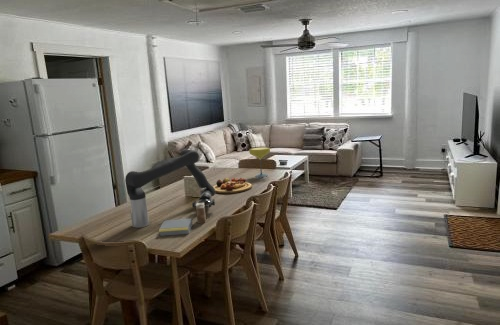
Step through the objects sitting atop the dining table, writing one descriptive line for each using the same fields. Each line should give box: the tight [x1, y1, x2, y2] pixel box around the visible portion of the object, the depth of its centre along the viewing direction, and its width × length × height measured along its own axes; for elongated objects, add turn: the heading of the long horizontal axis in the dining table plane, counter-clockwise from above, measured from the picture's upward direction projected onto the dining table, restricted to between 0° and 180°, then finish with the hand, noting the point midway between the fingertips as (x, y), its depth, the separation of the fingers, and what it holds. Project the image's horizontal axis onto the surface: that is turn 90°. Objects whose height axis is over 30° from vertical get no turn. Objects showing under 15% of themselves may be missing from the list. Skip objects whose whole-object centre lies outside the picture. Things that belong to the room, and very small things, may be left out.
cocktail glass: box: [248, 146, 271, 178], centre depth 332 cm, size 18×18×25 cm
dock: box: [158, 218, 193, 237], centre depth 216 cm, size 16×15×4 cm
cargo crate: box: [195, 203, 207, 224], centre depth 227 cm, size 4×4×11 cm
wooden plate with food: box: [212, 177, 253, 194], centre depth 299 cm, size 32×32×8 cm
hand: (202, 206), depth 236 cm, fingers open, 8 cm apart
